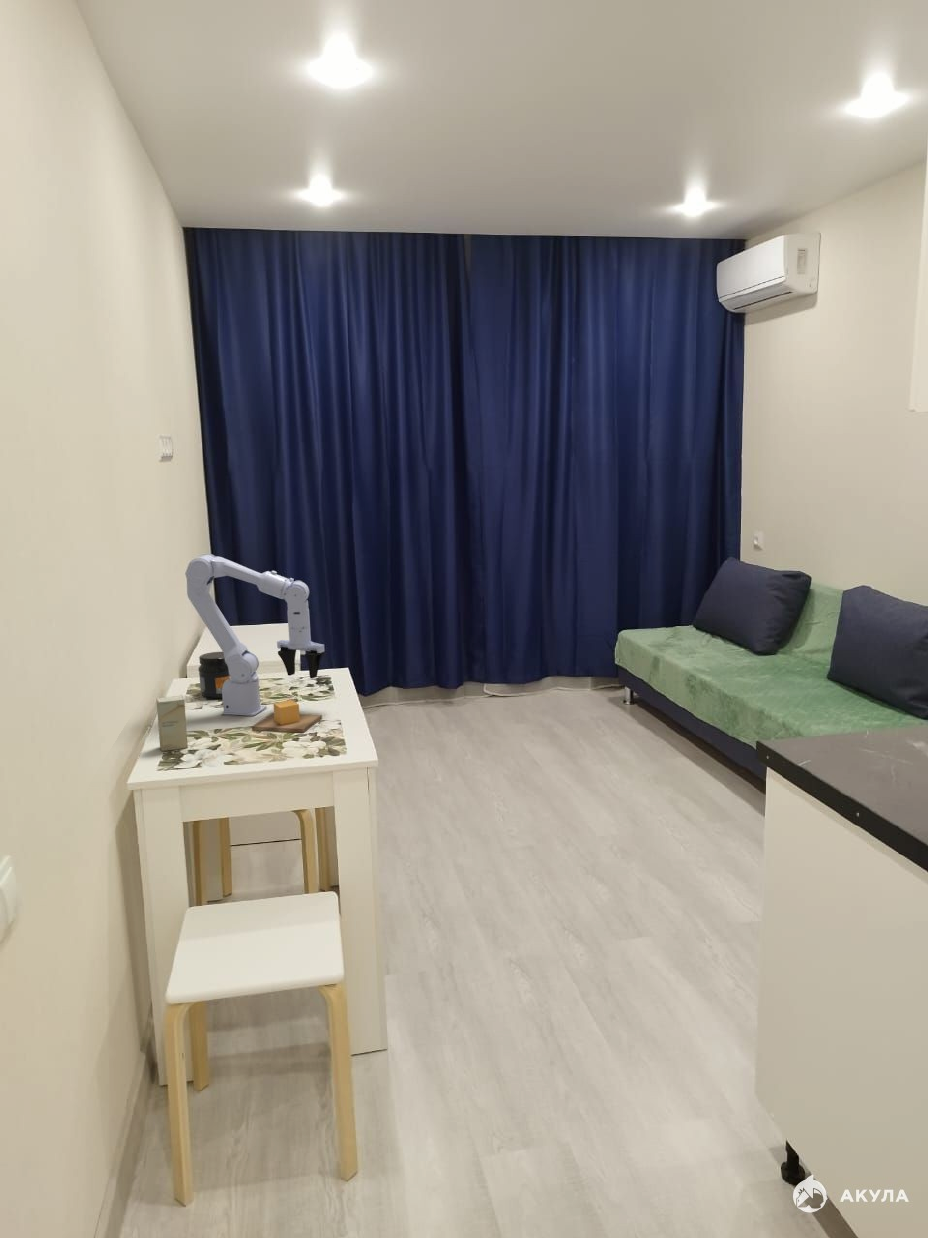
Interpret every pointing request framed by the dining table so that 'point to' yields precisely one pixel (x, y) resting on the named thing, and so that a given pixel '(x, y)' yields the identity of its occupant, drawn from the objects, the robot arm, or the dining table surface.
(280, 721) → the mustard tilted cube
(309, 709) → the dining table surface
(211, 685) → the supplement container
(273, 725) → the brown flat block
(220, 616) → the robot arm
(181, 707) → the skincare box
